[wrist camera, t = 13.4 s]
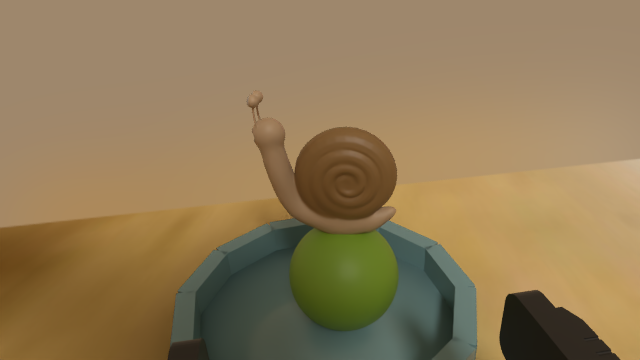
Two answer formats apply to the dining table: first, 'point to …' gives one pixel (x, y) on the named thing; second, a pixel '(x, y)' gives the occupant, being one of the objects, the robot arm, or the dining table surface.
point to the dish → (304, 334)
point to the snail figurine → (335, 220)
